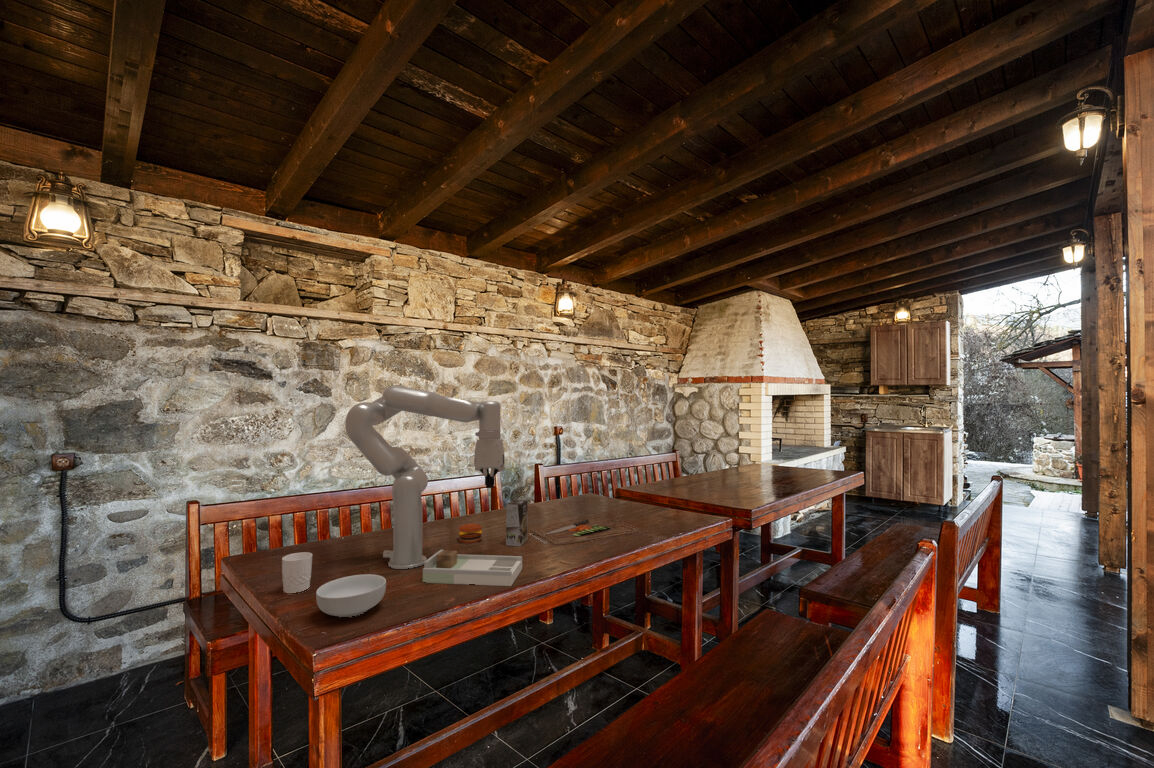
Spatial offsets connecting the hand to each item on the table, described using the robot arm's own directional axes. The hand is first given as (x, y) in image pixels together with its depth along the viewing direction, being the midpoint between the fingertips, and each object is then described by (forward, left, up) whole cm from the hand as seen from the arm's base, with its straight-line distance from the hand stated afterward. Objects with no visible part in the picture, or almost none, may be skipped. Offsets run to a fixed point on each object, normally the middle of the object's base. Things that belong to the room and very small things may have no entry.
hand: (489, 487), depth 169 cm
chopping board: (+29, +41, -26) cm, 57 cm away
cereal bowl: (-25, -44, -26) cm, 57 cm away
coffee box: (+4, +22, -26) cm, 34 cm away
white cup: (-50, -32, -26) cm, 64 cm away
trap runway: (-1, -15, -26) cm, 30 cm away
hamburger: (-16, +24, -26) cm, 39 cm away
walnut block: (-10, -15, -23) cm, 29 cm away
